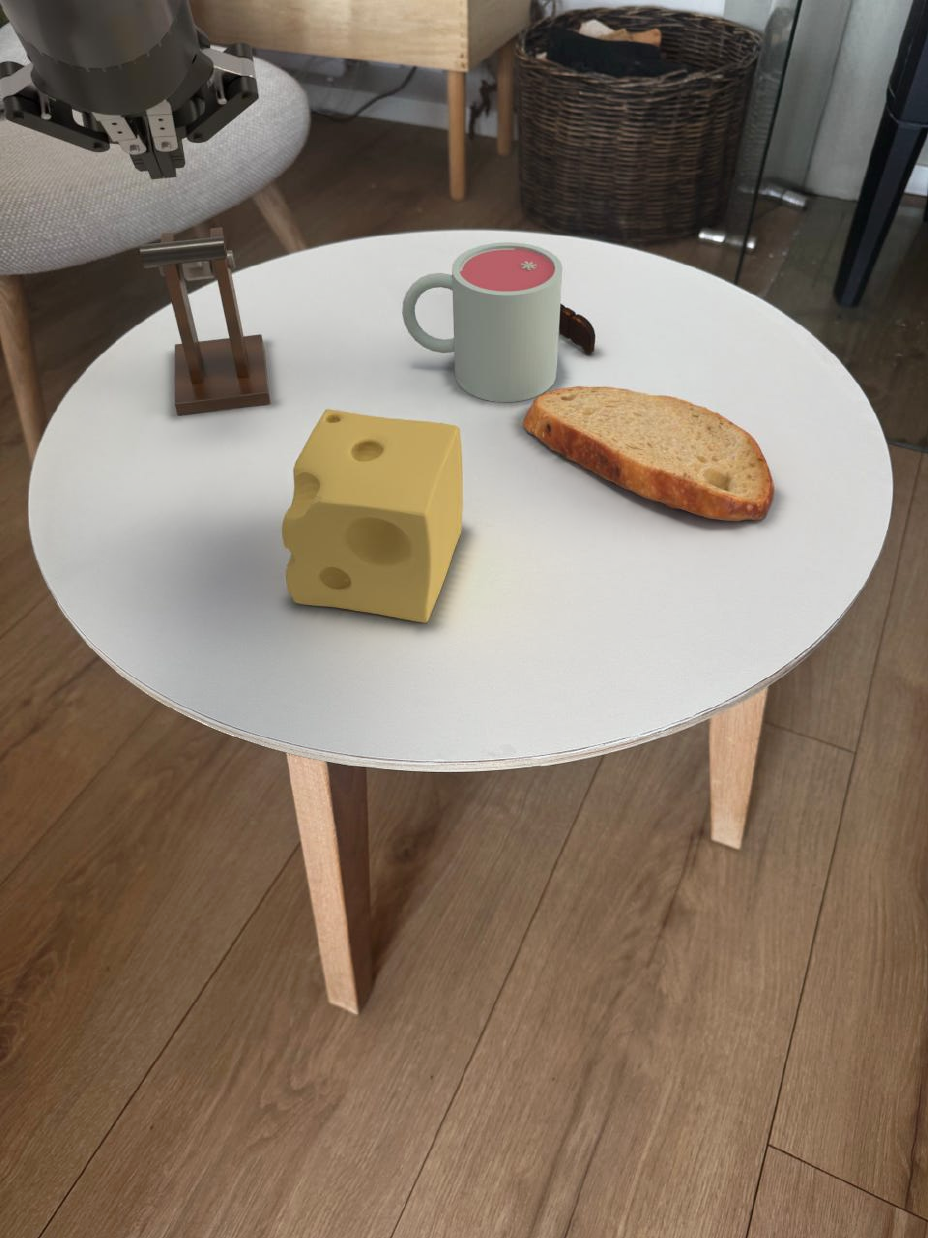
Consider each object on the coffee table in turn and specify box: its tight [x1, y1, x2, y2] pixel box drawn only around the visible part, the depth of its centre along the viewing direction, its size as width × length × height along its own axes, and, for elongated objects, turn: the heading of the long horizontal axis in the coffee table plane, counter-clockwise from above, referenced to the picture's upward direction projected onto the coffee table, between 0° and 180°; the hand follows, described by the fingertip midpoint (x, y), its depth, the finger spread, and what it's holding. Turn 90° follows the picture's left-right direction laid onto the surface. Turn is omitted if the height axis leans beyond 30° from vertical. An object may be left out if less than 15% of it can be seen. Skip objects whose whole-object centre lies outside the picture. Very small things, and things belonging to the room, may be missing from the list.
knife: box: [559, 302, 596, 356], centre depth 95 cm, size 17×1×3 cm, turn 36°
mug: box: [401, 241, 563, 403], centre depth 86 cm, size 14×9×10 cm
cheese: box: [281, 408, 464, 624], centre depth 68 cm, size 10×11×10 cm
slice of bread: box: [522, 385, 775, 522], centre depth 79 cm, size 18×18×4 cm
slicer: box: [158, 227, 271, 416], centre depth 85 cm, size 10×8×13 cm
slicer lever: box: [138, 236, 228, 282], centre depth 77 cm, size 12×6×2 cm, turn 12°
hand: (161, 161), depth 58 cm, fingers closed
